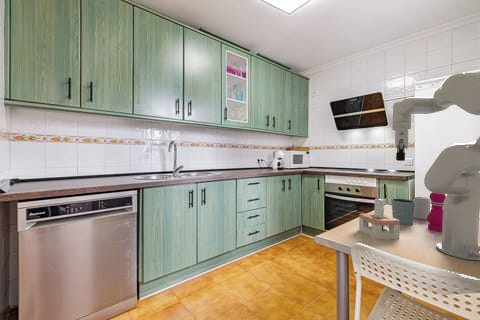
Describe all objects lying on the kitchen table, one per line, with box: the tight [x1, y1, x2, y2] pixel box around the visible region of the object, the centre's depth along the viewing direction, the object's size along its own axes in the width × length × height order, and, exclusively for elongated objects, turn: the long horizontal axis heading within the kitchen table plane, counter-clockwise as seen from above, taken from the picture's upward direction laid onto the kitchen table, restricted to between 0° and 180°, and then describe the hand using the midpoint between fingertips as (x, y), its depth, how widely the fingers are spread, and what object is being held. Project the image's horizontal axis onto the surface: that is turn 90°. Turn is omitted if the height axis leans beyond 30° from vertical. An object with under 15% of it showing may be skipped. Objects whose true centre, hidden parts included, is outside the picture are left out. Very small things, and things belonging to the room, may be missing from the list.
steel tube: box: [373, 198, 385, 231], centre depth 99 cm, size 4×4×16 cm
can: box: [412, 196, 431, 221], centre depth 123 cm, size 8×8×12 cm
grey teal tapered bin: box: [391, 198, 415, 226], centre depth 116 cm, size 10×10×12 cm
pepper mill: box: [426, 192, 447, 233], centre depth 106 cm, size 7×7×20 cm
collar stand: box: [358, 212, 401, 240], centre depth 99 cm, size 11×11×8 cm
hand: (400, 160), depth 110 cm, fingers open, 9 cm apart
